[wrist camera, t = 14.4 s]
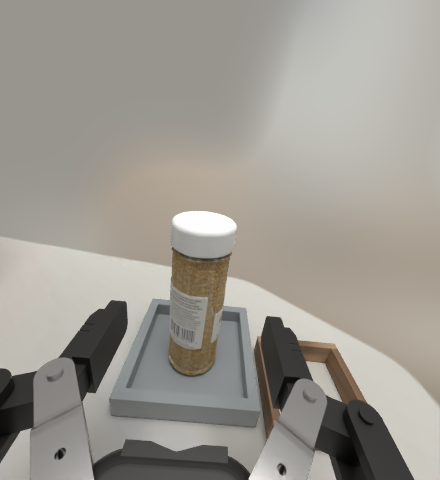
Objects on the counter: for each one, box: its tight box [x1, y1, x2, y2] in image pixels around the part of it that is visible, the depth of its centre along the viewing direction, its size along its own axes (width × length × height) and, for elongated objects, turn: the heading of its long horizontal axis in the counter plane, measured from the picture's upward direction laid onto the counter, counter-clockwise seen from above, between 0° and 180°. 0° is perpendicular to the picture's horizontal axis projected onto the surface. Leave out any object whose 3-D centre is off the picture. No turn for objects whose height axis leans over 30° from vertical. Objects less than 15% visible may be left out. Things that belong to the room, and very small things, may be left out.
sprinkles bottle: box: [168, 211, 237, 376], centre depth 18 cm, size 5×5×13 cm
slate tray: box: [109, 299, 260, 427], centre depth 21 cm, size 11×11×2 cm
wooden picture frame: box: [254, 336, 367, 450], centre depth 19 cm, size 8×8×2 cm
